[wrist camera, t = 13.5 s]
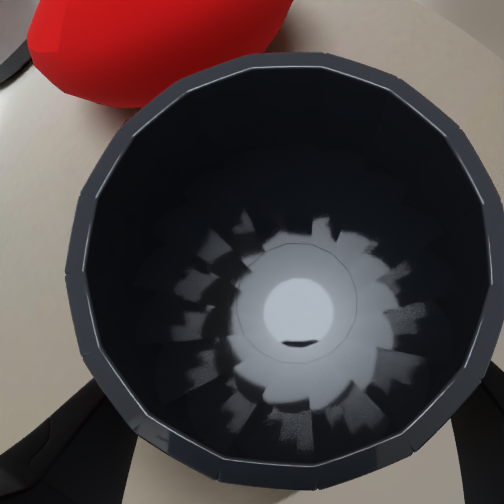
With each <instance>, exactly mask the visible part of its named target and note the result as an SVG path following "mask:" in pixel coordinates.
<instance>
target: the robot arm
mask: <svg viewBox="0 0 504 504" xmlns="http://www.w3.org/2000/svg"><path fill="white" fill-rule="evenodd" d="M451 422H452V427H453V432H454V436H455V441H456V447H457V452H458V457H459V464H460V470H461V476H462V483H463V491H464V499H465V504H504V372H503V371H502V370H501V369H500V368H499V367H498V366H497V365H495V364H494V363H493V362H492V361H491V360H490V363H489V366H488V368H487V371H486V373H485V376H484V378H483V379H482V380H481V383H480V384H479V386H478V387H477V388H476V389H475V391H474V392H473V393H472V394H471V395H470V397H469V398H468V399H467V400H466V401H465V402H464V403H463V405H462V406H461V407H460V408H459V409H458V410H457V411H456V412H455V414H454V415H453V416H452V417H451ZM137 438H138V435H136V433H135V431H132V430H131V429H130V427H129V426H128V425H127V424H126V422H125V421H124V420H123V418H122V417H121V416H120V414H119V413H118V412H117V410H116V409H115V408H114V406H113V405H112V403H111V402H110V401H109V399H108V398H107V396H106V395H105V393H104V392H103V390H102V389H101V388H100V386H99V385H98V383H97V382H96V380H95V379H94V378H93V379H92V380H90V381H89V382H88V383H87V384H86V385H85V386H84V387H82V388H81V389H80V390H79V391H78V392H77V393H76V394H75V395H73V396H72V397H71V398H70V399H69V400H68V401H67V402H65V403H64V404H63V405H62V406H61V407H60V408H59V409H58V410H56V411H55V412H54V413H53V414H52V415H51V416H50V417H49V418H47V419H46V420H45V421H44V422H43V423H42V424H41V425H39V426H38V427H37V428H36V429H35V430H33V431H32V432H31V433H30V434H28V435H27V436H26V437H25V438H23V439H22V440H21V441H19V442H18V443H17V444H15V445H14V446H12V447H11V448H10V449H8V450H7V451H5V452H4V453H3V454H1V455H0V504H122V499H123V495H124V491H125V486H126V482H127V478H128V474H129V469H130V465H131V461H132V457H133V453H134V449H135V446H136V442H137Z"/></svg>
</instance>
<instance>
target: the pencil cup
mask: <svg viewBox="0 0 504 504" xmlns="http://www.w3.org/2000/svg"><path fill="white" fill-rule="evenodd" d="M459 128H460V127H459V126H458V125H457V124H456V123H455V122H454V121H453V120H452V119H451V118H449V117H448V116H447V115H446V114H445V113H444V112H442V111H441V110H440V109H439V108H438V107H437V106H435V105H434V104H433V103H432V102H430V101H429V100H428V99H427V98H425V97H424V96H423V95H422V94H420V93H419V92H418V91H417V90H415V89H414V88H413V87H411V86H410V85H409V84H407V83H406V82H405V81H403V80H402V79H400V78H399V79H398V78H397V77H396V76H394V75H392V74H389V73H387V72H384V71H381V70H378V69H376V68H373V67H370V66H367V65H364V64H361V63H358V62H355V61H352V60H349V59H346V58H342V57H339V56H336V55H332V54H329V53H326V54H324V53H323V52H274V53H254V54H250V56H249V55H244V56H241V57H238V58H235V59H232V60H229V61H226V62H223V63H220V64H217V65H215V66H212V67H209V68H207V69H204V70H201V71H199V72H196V73H194V74H191V75H189V76H186V77H184V78H181V79H180V80H179V81H176V82H174V83H173V84H172V85H171V86H169V87H168V88H167V89H165V90H164V91H163V92H161V93H160V94H159V95H158V96H156V97H155V98H154V99H153V100H151V101H150V102H149V103H148V104H147V105H145V106H144V107H143V108H142V109H141V110H139V111H138V112H137V113H136V114H135V115H133V116H132V117H131V118H130V119H129V120H128V121H127V122H125V123H124V124H123V125H122V126H121V127H120V129H119V130H118V131H117V132H116V134H115V135H114V137H113V138H112V140H111V141H110V143H109V145H108V146H107V148H106V149H105V151H104V153H103V154H102V156H101V157H100V159H99V161H98V162H97V164H96V166H95V167H94V169H93V171H92V173H91V174H90V176H89V178H88V180H87V181H86V183H85V185H84V187H83V189H82V190H81V192H80V195H81V196H79V198H78V201H77V206H76V211H75V215H74V220H73V225H72V230H71V236H70V242H69V247H68V254H67V260H66V267H65V274H66V276H65V281H66V288H67V293H68V299H69V304H70V310H71V315H72V320H73V324H74V329H75V333H76V338H77V342H78V346H79V350H80V354H81V356H82V357H83V361H84V363H85V364H86V366H87V368H88V369H89V371H90V372H91V374H92V375H93V377H94V379H95V380H96V382H97V383H98V385H99V386H100V388H101V389H102V390H103V392H104V393H105V395H106V396H107V398H108V399H109V401H110V402H111V403H112V405H113V406H114V408H115V409H116V410H117V412H118V413H119V414H120V416H121V417H122V418H123V420H124V421H125V422H126V424H127V425H128V426H129V427H130V429H131V430H132V431H135V433H136V435H138V436H139V437H141V438H142V439H144V440H145V441H147V442H148V443H150V444H152V445H153V446H155V447H156V448H158V449H159V450H161V451H163V452H164V453H166V454H168V455H169V456H171V457H173V458H174V459H176V460H178V461H179V462H181V463H183V464H185V465H186V466H188V467H190V468H192V469H194V470H195V471H197V472H199V473H201V474H203V475H205V476H207V477H209V478H211V479H213V480H218V481H219V482H222V483H228V484H235V485H243V486H252V487H261V488H272V489H287V490H312V491H314V490H316V489H317V488H318V489H319V490H322V489H325V488H329V487H332V486H334V485H338V484H341V483H344V482H346V481H350V480H353V479H355V478H358V477H361V476H363V475H366V474H368V473H371V472H374V471H376V470H379V469H381V468H383V467H386V466H388V465H391V464H393V463H395V462H398V461H400V460H402V459H404V458H406V457H408V456H411V455H412V453H413V452H416V451H417V450H419V449H420V448H421V447H422V446H423V445H424V444H425V443H426V442H427V441H428V440H429V439H430V438H431V437H432V436H433V435H434V434H435V433H436V432H437V431H438V430H439V429H440V428H441V427H442V426H443V425H444V424H445V423H446V422H447V421H448V420H449V419H450V418H451V417H452V416H453V415H454V414H455V412H456V411H457V410H458V409H459V408H460V407H461V406H462V405H463V403H464V402H465V401H466V400H467V399H468V398H469V397H470V395H471V394H472V393H473V392H474V391H475V389H476V388H477V387H478V386H479V384H480V383H481V380H482V379H483V378H484V376H485V373H486V371H487V368H488V366H489V363H490V360H491V358H492V355H493V352H494V349H495V346H496V343H497V340H498V337H499V334H500V331H501V328H502V325H503V321H504V210H503V204H502V203H501V202H500V201H501V198H500V196H499V194H498V192H497V190H496V188H495V186H494V184H493V182H492V180H491V178H490V176H489V175H488V173H487V171H486V169H485V167H484V165H483V164H482V162H481V160H480V158H479V157H478V155H477V153H476V151H475V150H474V148H473V146H472V145H471V143H470V141H469V140H468V138H467V137H466V135H465V133H464V132H463V130H461V129H459Z"/></svg>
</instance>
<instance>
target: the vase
mask: <svg viewBox="0 0 504 504" xmlns="http://www.w3.org/2000/svg"><path fill="white" fill-rule="evenodd" d="M292 2H293V0H40V1H39V4H38V6H37V9H36V11H35V14H34V16H33V19H32V22H31V24H30V27H29V30H28V33H27V43H28V48H29V51H30V55H31V58H32V61H33V64H34V66H35V67H36V68H37V69H38V70H39V71H40V72H41V73H42V74H43V75H44V76H45V77H46V78H47V79H48V80H49V81H50V82H51V83H53V84H54V85H55V86H56V87H58V88H59V89H60V90H61V91H63V92H64V93H67V94H70V95H73V96H76V97H79V98H83V99H86V100H89V101H92V102H95V103H98V104H102V105H107V106H111V107H116V108H140V107H144V106H145V105H147V104H148V103H149V102H150V101H151V100H153V99H154V98H155V97H156V96H158V95H159V94H160V93H161V92H163V91H164V90H165V89H167V88H168V87H169V86H171V85H172V84H173V83H174V82H176V81H179V80H180V79H181V78H184V77H186V76H189V75H191V74H194V73H196V72H199V71H201V70H204V69H207V68H209V67H212V66H215V65H217V64H220V63H223V62H226V61H229V60H232V59H235V58H238V57H241V56H244V55H249V56H250V54H254V53H263V52H264V51H265V50H266V49H267V47H268V46H269V44H270V43H271V42H272V40H273V39H274V38H275V36H276V35H277V34H278V32H279V31H280V28H281V26H282V24H283V22H284V19H285V17H286V15H287V13H288V10H289V8H290V6H291V4H292Z"/></svg>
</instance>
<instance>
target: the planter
mask: <svg viewBox="0 0 504 504" xmlns="http://www.w3.org/2000/svg"><path fill="white" fill-rule="evenodd" d="M39 1H40V0H0V83H1V82H3V81H4V80H6V79H7V78H9V77H10V76H12V75H13V74H15V73H16V72H17V71H19V70H20V69H21V68H22V67H23V66H24V65H25V64H26V63H27V62H28V61H29V60H30V59H31V55H30V51H29V48H28V43H27V33H28V30H29V27H30V24H31V22H32V19H33V16H34V14H35V11H36V9H37V6H38V4H39Z"/></svg>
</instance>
